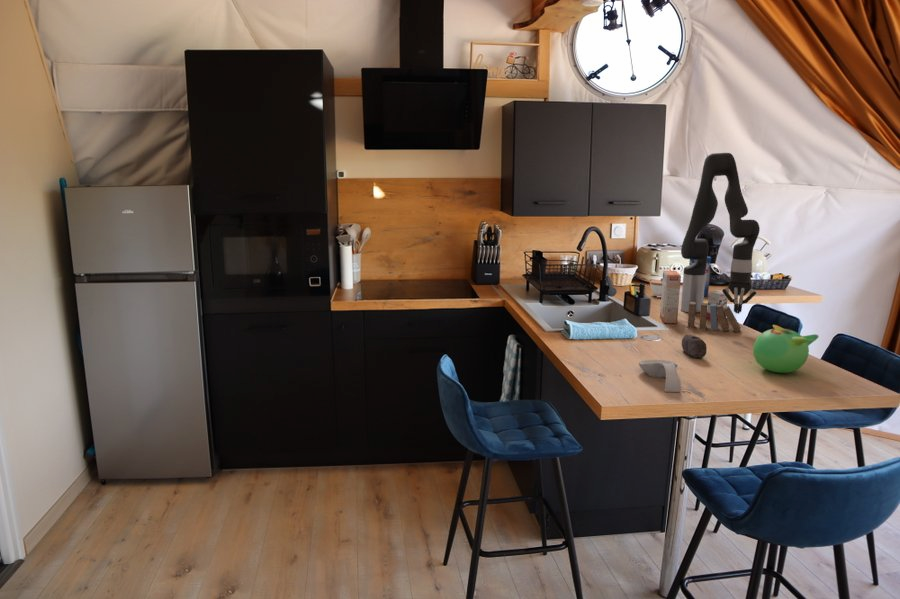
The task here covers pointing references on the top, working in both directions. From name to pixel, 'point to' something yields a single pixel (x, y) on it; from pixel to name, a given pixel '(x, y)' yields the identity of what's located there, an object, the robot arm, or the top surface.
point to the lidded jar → (656, 287)
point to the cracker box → (670, 296)
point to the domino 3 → (713, 316)
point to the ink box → (716, 300)
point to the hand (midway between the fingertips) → (737, 313)
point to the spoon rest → (663, 373)
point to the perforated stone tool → (694, 346)
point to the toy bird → (782, 349)
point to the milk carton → (707, 274)
